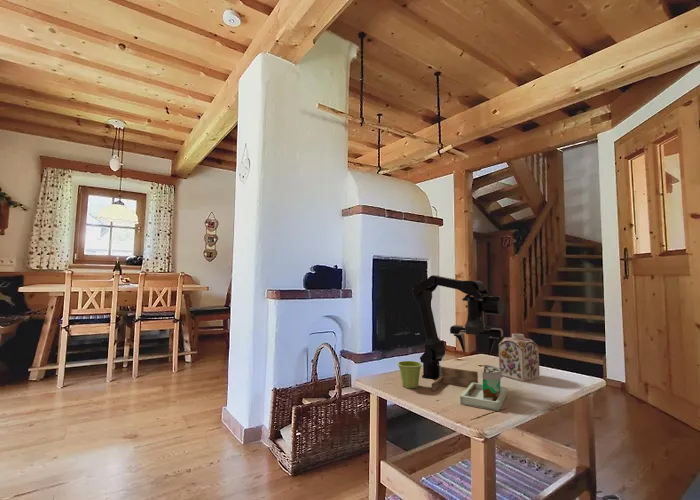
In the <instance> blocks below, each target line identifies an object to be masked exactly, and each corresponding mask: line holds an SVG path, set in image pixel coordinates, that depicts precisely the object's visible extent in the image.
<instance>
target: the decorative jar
mask: <svg viewBox="0 0 700 500" xmlns="http://www.w3.org/2000/svg"><path fill="white" fill-rule="evenodd" d="M539 352H540V351H539V346H538V344H537V343H536V341H534V340H532V339H531V338H528V337H527V338H526V337H525V335H524V334H522V333H511V336H508V337H506V336H505V337H503V339H502V340H501V341H500V342H499V343H498V368H499V369H500V370H501V372H502V376H503V377H505V378H508V379H512V380H515V381H520V382H523V383H525V382H529V381H533V380H536V379H539V378H540V372H541V371H540V355H539Z"/></svg>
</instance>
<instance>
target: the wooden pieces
mask: <svg viewBox="0 0 700 500" xmlns="http://www.w3.org/2000/svg"><path fill="white" fill-rule="evenodd" d="M478 377H479V372H478V371H474V370H469V369H467V370H466V369H459V368H452V367H445V366H441V376H440V377H439V378H438V379H435V380H434V382H432V383H431V392H436V391H437V390H438V389H439V388H440V387H442V385H443V384H447V385H453V386H454V385H455V386H460V387H466V388H468V386H469V385H470V384H471V383H472V382H474V383H479V380H478V379H479V378H478ZM475 389H476V384H474V385H473V386H472V387H471V388H470V389H469V396H471V395H472V393H473V392H474V391H475Z"/></svg>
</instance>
